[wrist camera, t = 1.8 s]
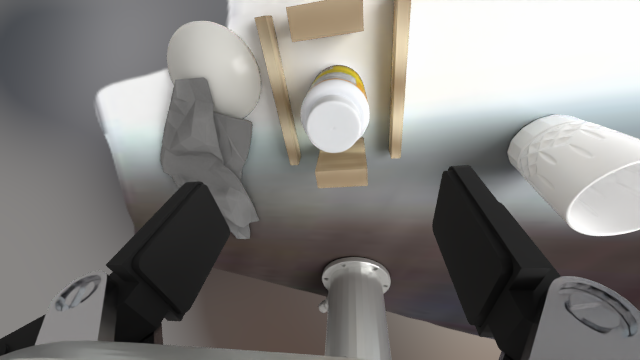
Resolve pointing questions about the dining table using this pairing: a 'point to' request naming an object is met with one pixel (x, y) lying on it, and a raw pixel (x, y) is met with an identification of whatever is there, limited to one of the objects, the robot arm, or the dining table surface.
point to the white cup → (582, 172)
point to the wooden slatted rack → (323, 21)
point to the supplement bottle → (335, 109)
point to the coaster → (216, 65)
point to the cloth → (208, 151)
